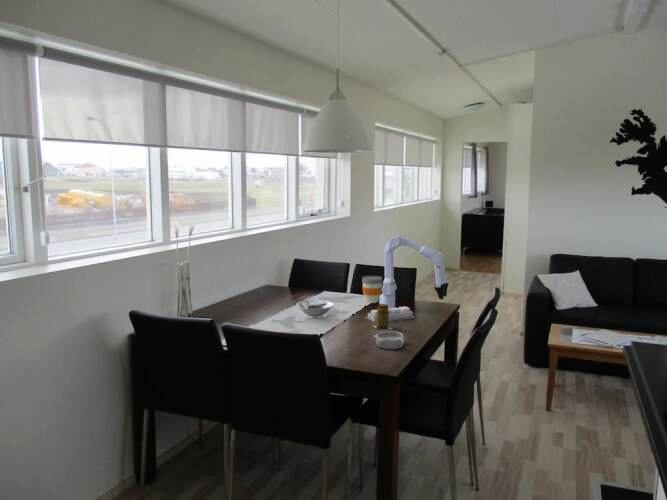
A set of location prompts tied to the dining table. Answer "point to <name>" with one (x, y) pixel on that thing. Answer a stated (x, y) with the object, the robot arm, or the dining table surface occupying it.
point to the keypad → (393, 316)
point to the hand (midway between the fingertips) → (443, 297)
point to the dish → (389, 339)
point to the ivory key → (404, 309)
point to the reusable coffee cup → (372, 288)
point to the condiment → (382, 317)
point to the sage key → (374, 312)
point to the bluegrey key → (395, 310)
